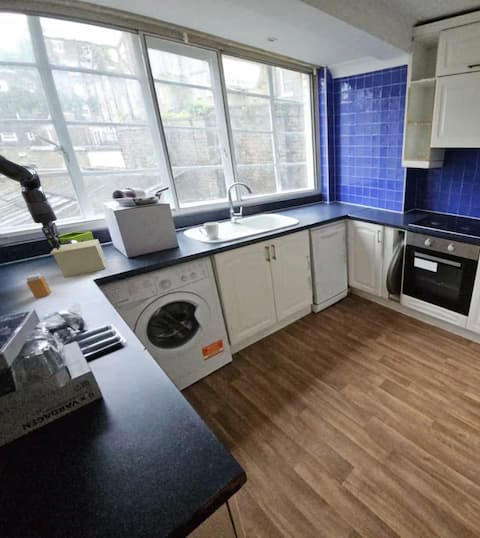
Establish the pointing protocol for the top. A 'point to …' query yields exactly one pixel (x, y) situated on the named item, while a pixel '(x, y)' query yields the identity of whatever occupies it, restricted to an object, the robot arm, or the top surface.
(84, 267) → the bin
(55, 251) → the lid
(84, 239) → the green angular block
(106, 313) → the top surface
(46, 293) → the orange block
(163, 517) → the top surface
